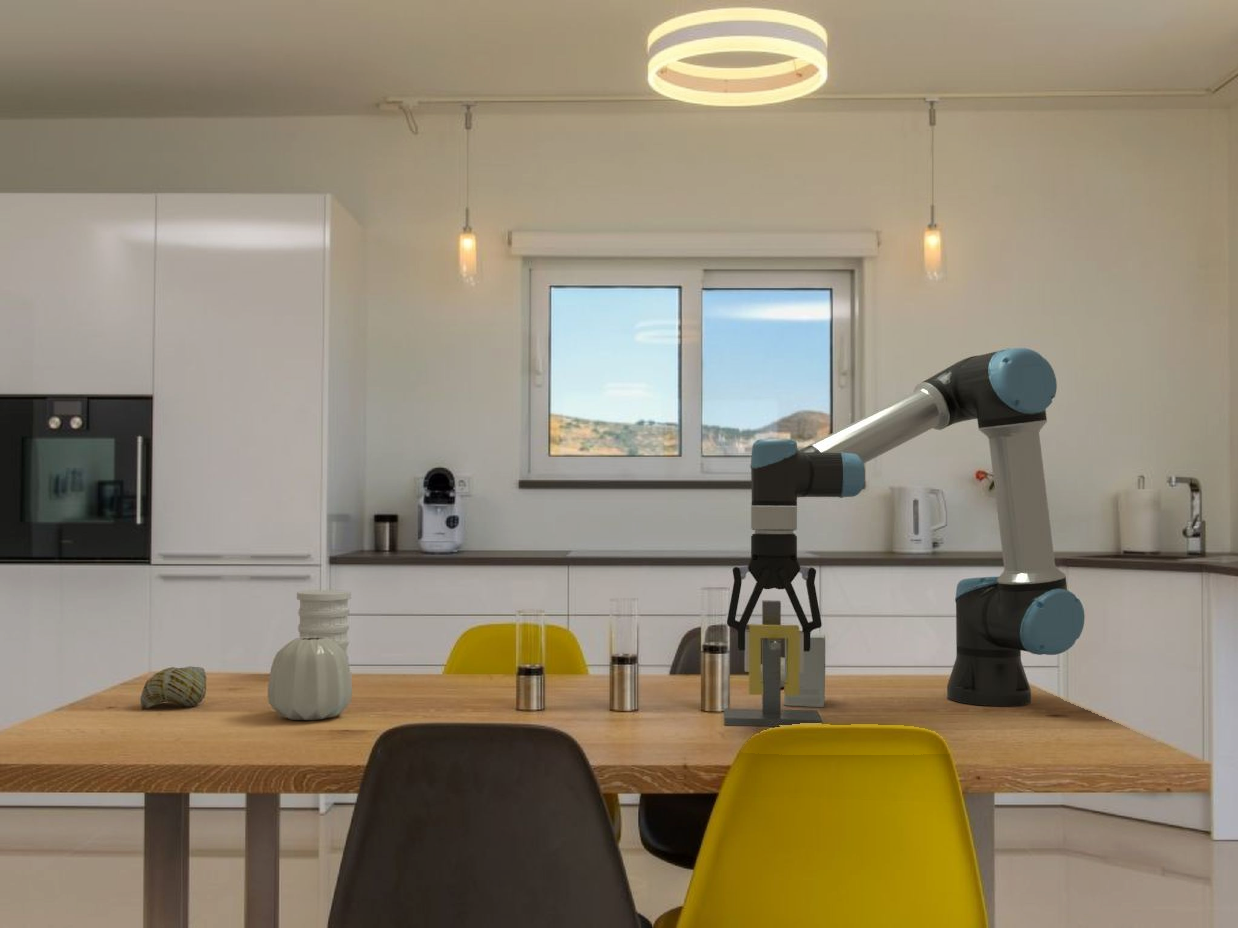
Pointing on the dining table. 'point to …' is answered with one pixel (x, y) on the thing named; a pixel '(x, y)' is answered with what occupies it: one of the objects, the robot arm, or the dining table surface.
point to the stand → (770, 684)
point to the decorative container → (325, 615)
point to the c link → (792, 656)
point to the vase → (310, 679)
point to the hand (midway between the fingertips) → (773, 670)
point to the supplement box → (810, 675)
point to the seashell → (175, 687)
